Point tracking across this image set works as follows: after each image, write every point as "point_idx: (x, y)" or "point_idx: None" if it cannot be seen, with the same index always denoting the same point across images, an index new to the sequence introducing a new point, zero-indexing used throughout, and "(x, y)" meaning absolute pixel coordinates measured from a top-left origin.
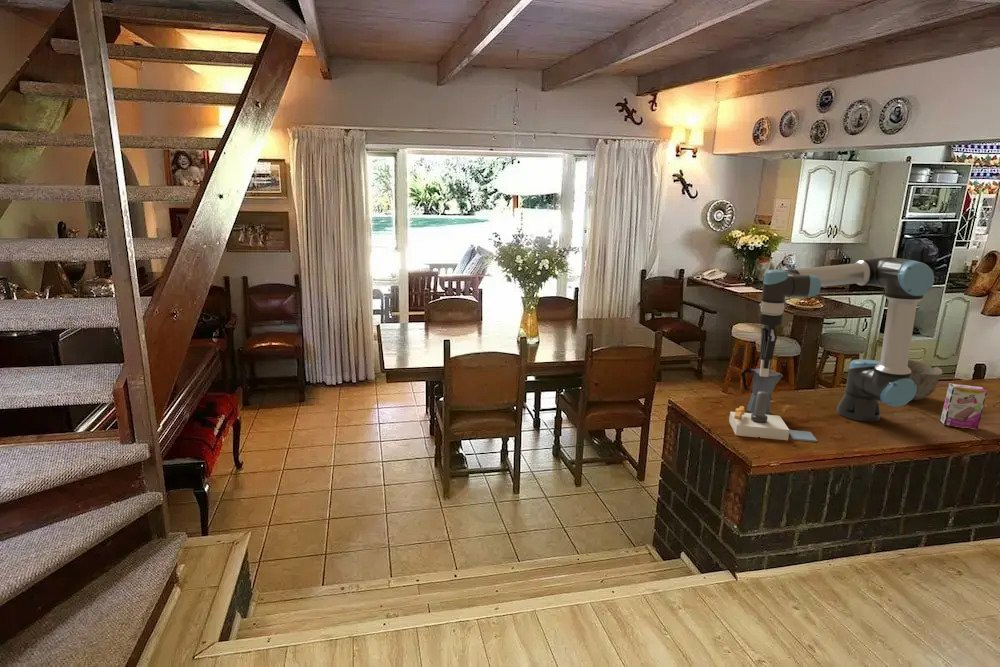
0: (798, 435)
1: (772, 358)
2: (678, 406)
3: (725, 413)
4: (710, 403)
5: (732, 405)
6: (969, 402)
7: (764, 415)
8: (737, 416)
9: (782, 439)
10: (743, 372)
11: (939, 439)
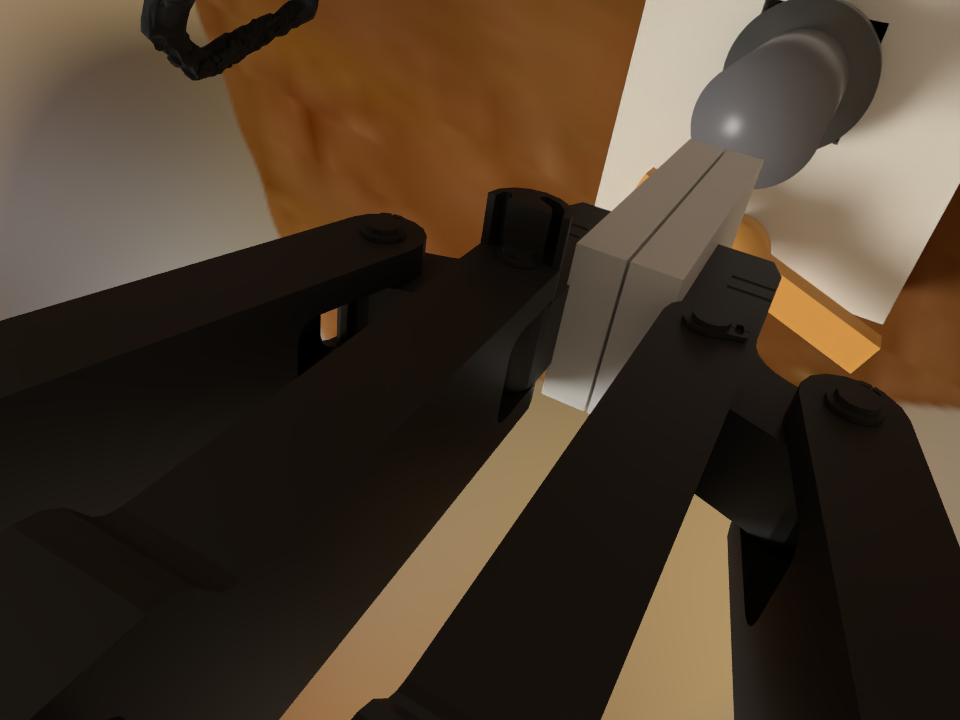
0: None
1: (883, 403)
2: None
3: (484, 160)
4: (336, 179)
5: (342, 37)
6: None
7: (840, 48)
8: (869, 356)
9: None
10: (194, 69)
11: None
